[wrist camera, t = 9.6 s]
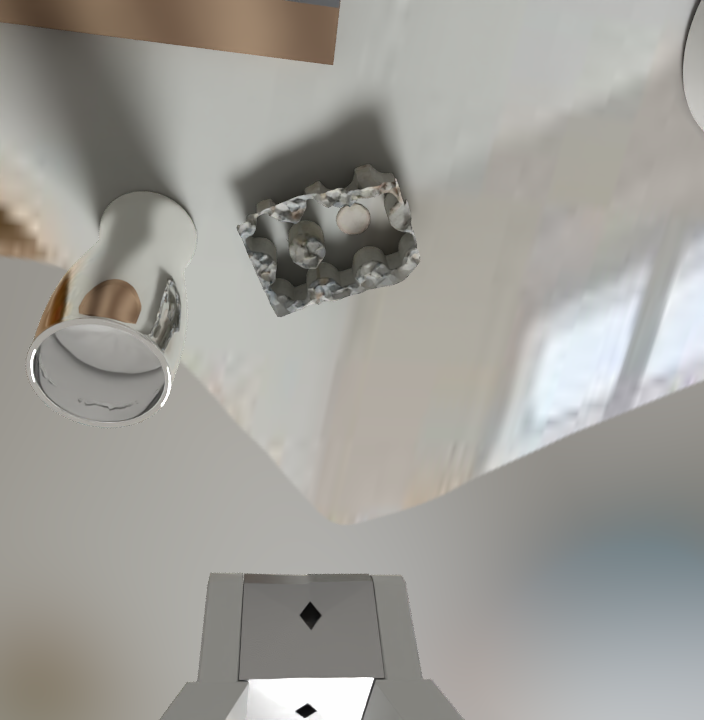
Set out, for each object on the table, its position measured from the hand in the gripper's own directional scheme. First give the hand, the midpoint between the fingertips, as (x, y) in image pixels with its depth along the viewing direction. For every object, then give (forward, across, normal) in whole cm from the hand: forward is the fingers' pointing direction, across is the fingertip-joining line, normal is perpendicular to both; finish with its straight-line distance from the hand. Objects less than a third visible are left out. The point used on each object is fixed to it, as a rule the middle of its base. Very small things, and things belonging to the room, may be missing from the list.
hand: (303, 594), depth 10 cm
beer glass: (+34, +8, +11) cm, 37 cm away
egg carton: (+34, -4, +10) cm, 36 cm away
